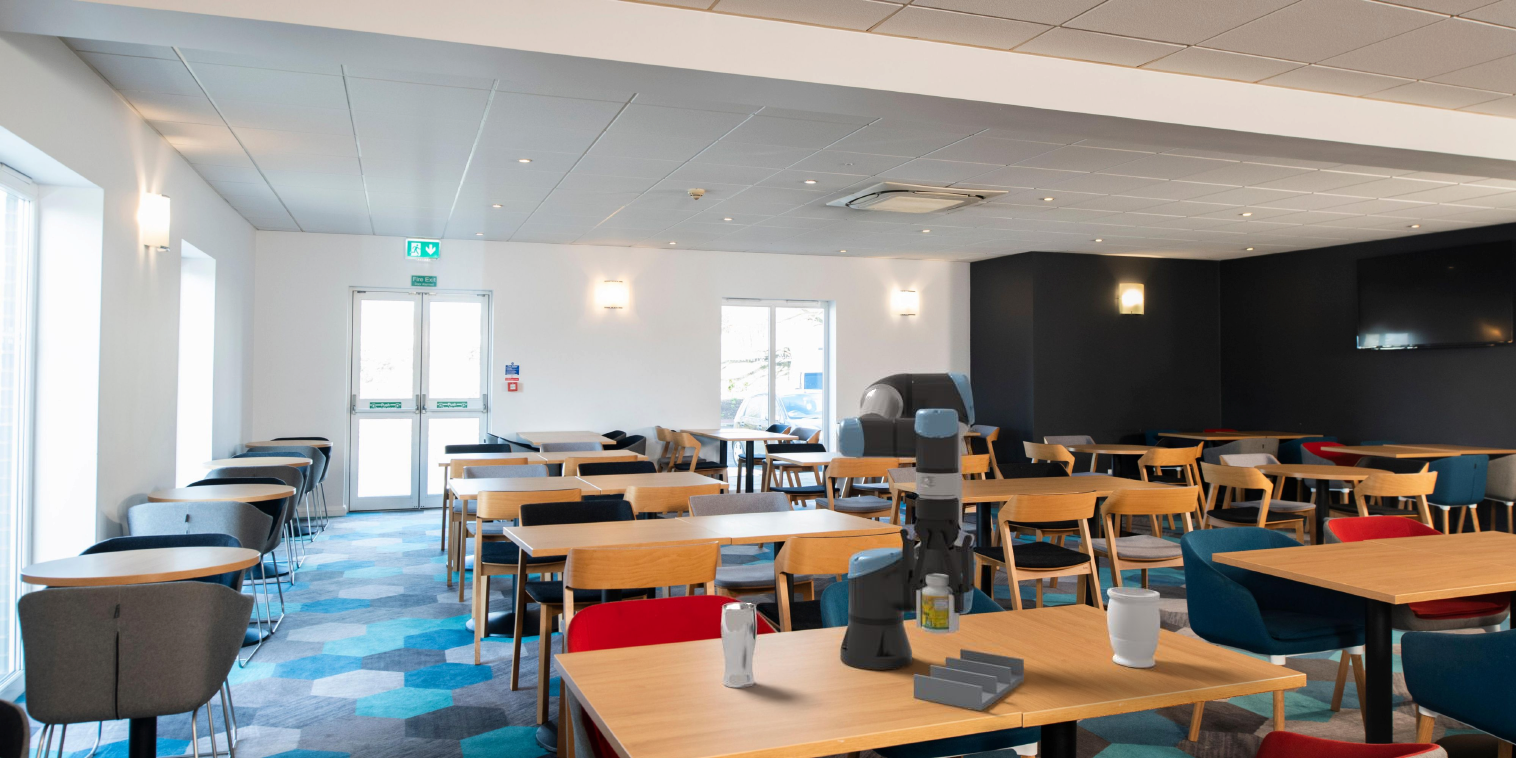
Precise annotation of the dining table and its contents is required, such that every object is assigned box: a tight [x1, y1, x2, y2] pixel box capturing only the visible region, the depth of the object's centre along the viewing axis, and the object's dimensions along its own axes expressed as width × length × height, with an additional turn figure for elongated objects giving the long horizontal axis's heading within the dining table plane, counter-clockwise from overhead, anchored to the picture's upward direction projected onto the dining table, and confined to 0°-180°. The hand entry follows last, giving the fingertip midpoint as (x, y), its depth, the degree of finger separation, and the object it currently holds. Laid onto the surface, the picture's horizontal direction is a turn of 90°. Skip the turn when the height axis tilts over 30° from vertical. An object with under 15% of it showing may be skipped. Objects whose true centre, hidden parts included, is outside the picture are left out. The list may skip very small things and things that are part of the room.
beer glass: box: [720, 601, 758, 689], centre depth 178 cm, size 7×7×15 cm
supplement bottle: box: [921, 574, 953, 635], centre depth 161 cm, size 5×5×10 cm
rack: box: [913, 648, 1025, 712], centre depth 174 cm, size 13×22×4 cm, turn 145°
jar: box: [1106, 586, 1161, 669], centre depth 192 cm, size 11×10×15 cm
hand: (937, 628), depth 161 cm, fingers closed on supplement bottle, 5 cm apart
